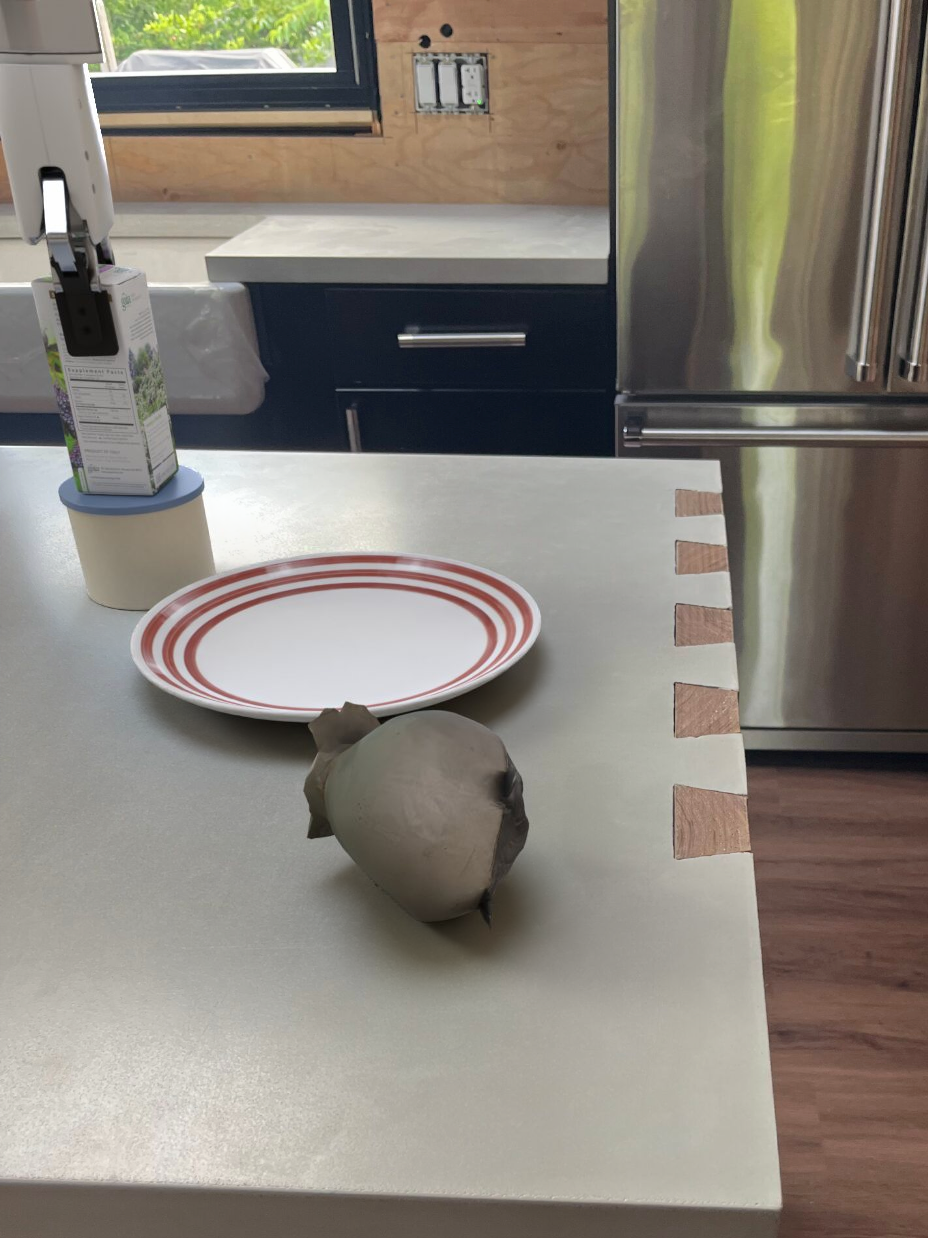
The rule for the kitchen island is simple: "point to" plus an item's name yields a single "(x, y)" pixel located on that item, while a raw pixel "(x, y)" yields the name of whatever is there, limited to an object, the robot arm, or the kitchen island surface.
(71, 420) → the syrup box
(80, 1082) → the kitchen island surface
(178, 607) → the dinner plate
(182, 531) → the yogurt tub
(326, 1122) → the kitchen island surface
